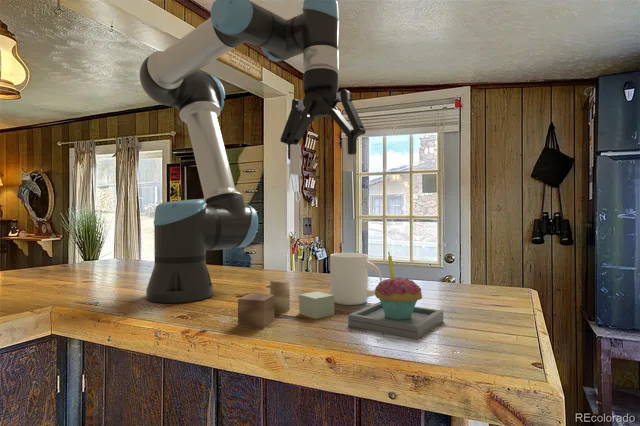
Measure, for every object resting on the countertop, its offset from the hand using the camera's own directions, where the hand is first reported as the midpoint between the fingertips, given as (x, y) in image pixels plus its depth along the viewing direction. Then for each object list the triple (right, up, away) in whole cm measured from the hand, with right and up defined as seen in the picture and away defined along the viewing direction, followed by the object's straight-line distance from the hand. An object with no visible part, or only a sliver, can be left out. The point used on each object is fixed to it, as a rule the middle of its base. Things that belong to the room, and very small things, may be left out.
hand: (320, 173), depth 84 cm
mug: (+8, -29, +7) cm, 31 cm away
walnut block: (-12, -29, -11) cm, 33 cm away
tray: (+14, -29, -11) cm, 34 cm away
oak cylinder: (-8, -29, -1) cm, 30 cm away
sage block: (-1, -29, -4) cm, 29 cm away
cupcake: (+14, -28, -11) cm, 33 cm away
